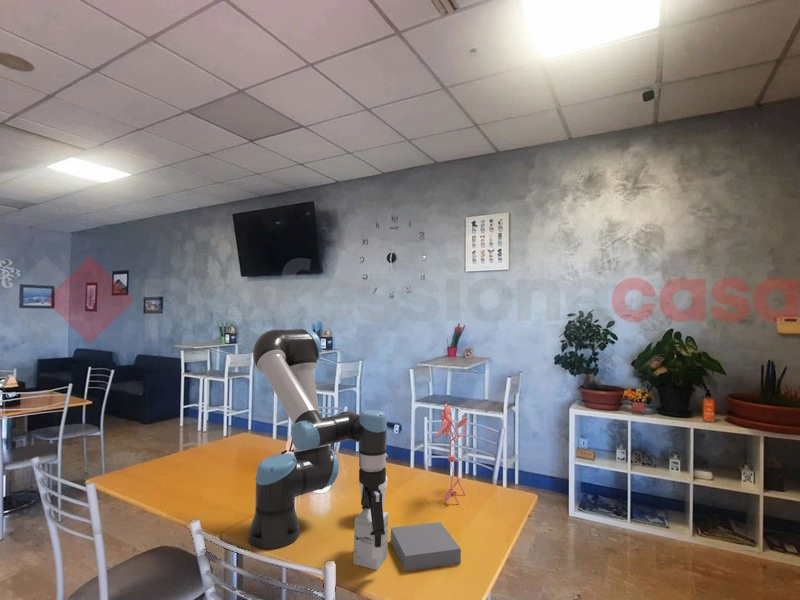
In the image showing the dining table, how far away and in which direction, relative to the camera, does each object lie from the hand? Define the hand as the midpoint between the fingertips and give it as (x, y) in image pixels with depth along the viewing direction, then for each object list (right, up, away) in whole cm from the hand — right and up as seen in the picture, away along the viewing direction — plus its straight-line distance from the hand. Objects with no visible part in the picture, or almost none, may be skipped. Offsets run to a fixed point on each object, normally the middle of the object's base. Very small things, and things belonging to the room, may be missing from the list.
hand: (371, 545), depth 120 cm
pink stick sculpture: (+25, -7, +44) cm, 51 cm away
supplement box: (0, -5, 0) cm, 5 cm away
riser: (+15, -5, +5) cm, 16 cm away
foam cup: (-1, -6, +27) cm, 27 cm away
